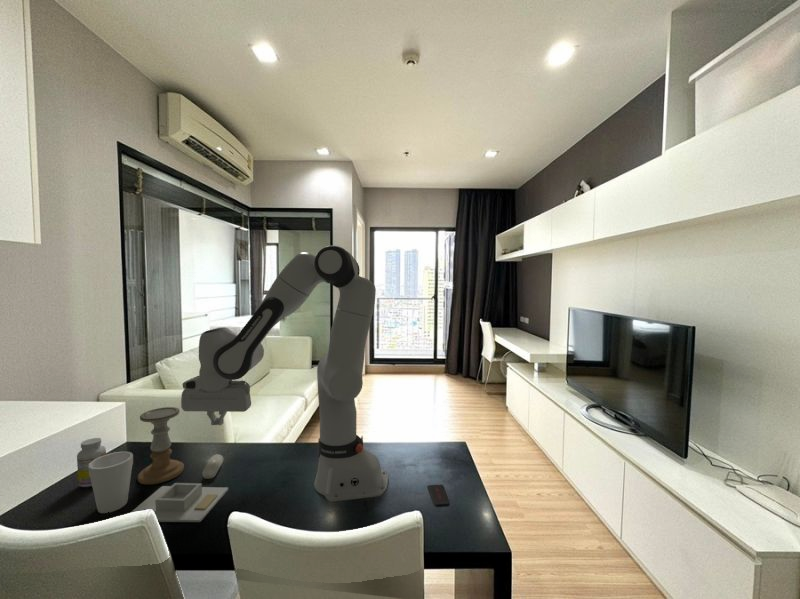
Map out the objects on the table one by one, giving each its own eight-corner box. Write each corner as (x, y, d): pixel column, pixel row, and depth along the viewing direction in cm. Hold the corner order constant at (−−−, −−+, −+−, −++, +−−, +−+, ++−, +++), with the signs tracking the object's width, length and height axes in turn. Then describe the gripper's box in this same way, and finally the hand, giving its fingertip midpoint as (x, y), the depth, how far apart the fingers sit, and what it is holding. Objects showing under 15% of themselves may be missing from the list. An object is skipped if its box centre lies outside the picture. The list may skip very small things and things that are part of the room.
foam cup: (108, 519, 90) (107, 471, 89) (80, 514, 91) (78, 466, 91) (142, 497, 99) (141, 453, 98) (116, 493, 101) (115, 449, 100)
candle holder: (192, 469, 114) (191, 409, 113) (152, 489, 103) (151, 423, 102) (169, 460, 119) (168, 403, 118) (129, 479, 108) (127, 416, 107)
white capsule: (214, 464, 109) (222, 451, 117) (201, 468, 108) (209, 455, 116) (217, 476, 109) (225, 462, 117) (204, 480, 108) (212, 466, 117)
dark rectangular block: (443, 491, 104) (443, 482, 104) (453, 518, 92) (453, 508, 92) (426, 491, 104) (426, 483, 103) (434, 519, 92) (434, 509, 91)
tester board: (228, 490, 102) (228, 477, 102) (200, 523, 88) (199, 508, 88) (162, 489, 103) (162, 476, 102) (123, 521, 89) (123, 506, 88)
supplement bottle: (102, 473, 111) (100, 434, 110) (110, 479, 107) (109, 439, 107) (74, 483, 105) (72, 442, 104) (82, 490, 102) (81, 448, 101)
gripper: (254, 377, 109) (255, 420, 109) (190, 377, 109) (191, 420, 110) (244, 383, 102) (245, 429, 103) (177, 383, 103) (178, 428, 104)
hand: (217, 424), depth 106 cm, fingers closed
